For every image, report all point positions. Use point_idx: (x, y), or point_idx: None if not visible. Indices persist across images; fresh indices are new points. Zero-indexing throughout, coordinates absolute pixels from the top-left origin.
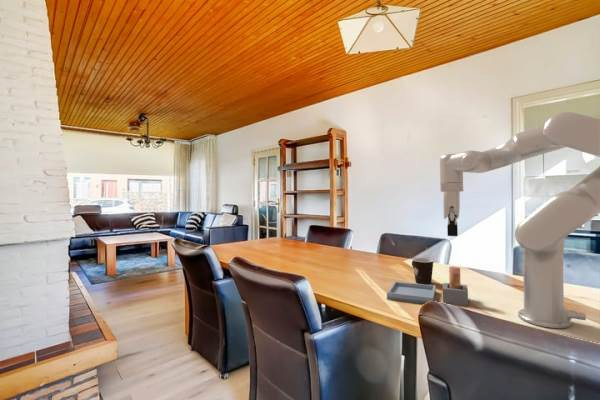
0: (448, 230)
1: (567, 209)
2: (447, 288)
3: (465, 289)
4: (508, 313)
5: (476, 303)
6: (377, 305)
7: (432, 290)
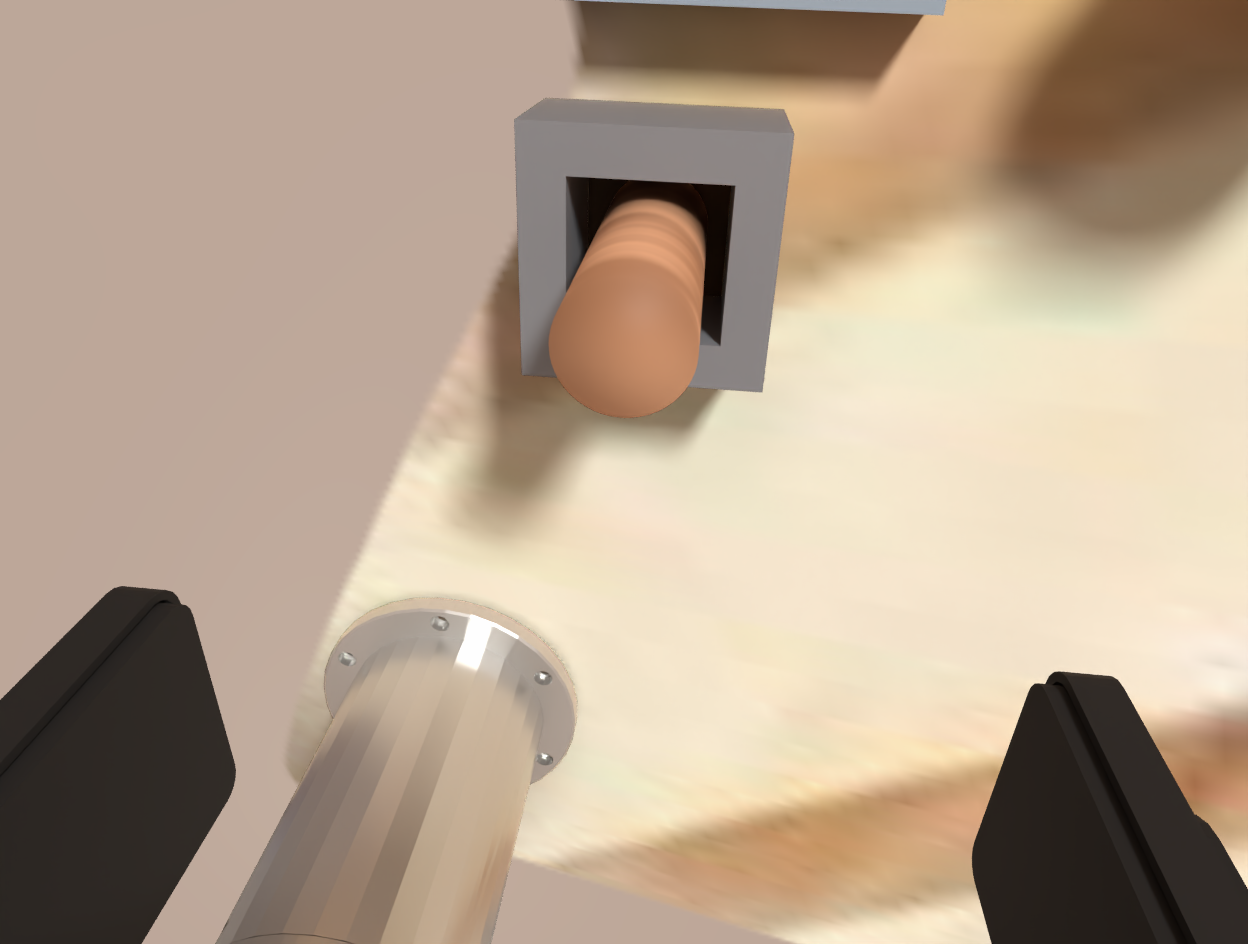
0: (6, 729)
1: None
2: (546, 177)
3: None
4: (488, 556)
5: None
6: None
7: None
